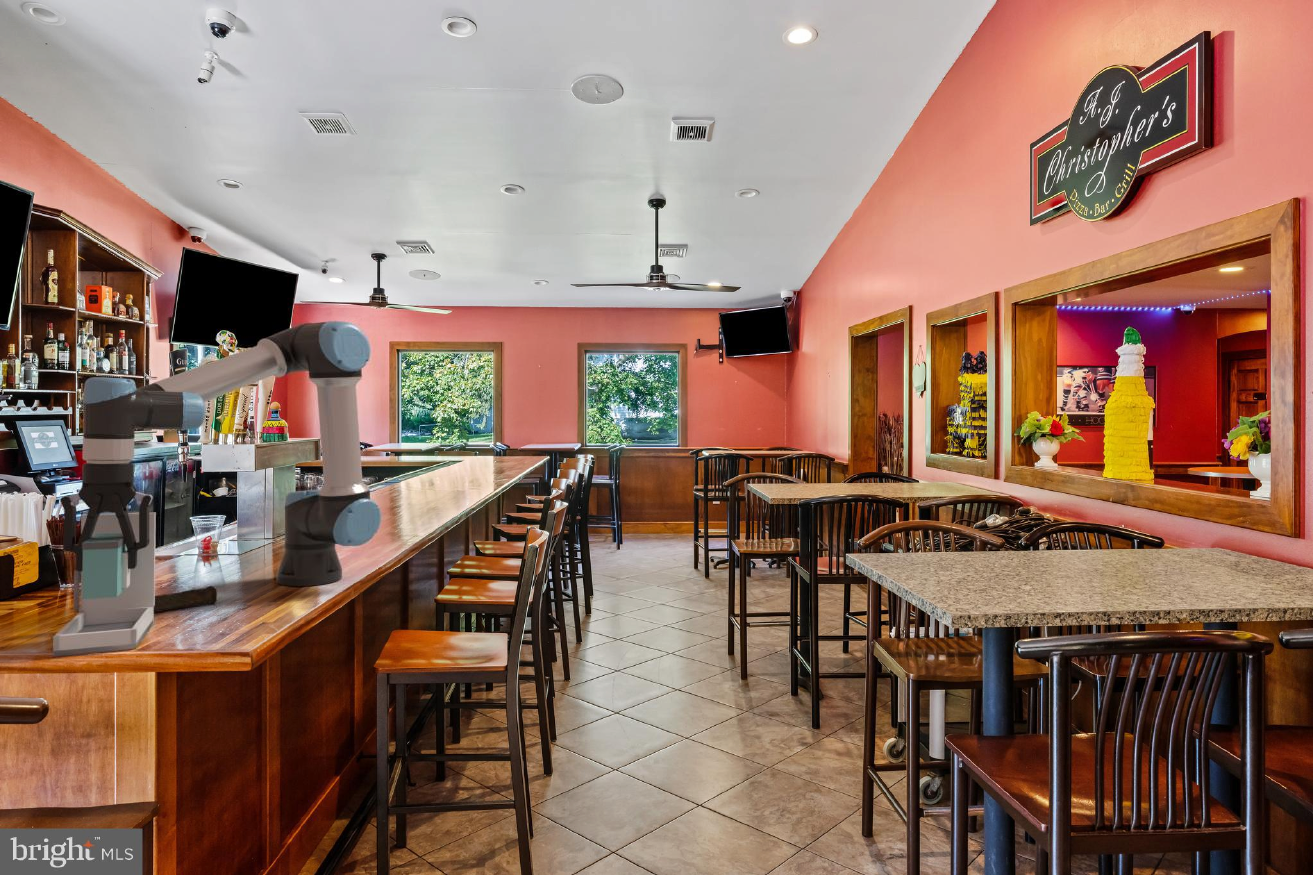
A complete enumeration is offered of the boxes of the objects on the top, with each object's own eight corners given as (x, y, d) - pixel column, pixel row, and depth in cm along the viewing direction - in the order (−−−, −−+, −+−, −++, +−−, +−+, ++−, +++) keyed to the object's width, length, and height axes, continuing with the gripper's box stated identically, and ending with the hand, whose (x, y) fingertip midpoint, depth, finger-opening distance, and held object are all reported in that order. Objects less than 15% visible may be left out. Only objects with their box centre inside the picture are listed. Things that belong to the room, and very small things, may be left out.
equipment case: (154, 622, 142) (155, 512, 142) (136, 648, 127) (137, 525, 126) (76, 628, 137) (76, 514, 136) (46, 657, 121) (47, 528, 121)
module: (130, 584, 137) (130, 532, 137) (117, 597, 128) (118, 541, 128) (96, 586, 135) (97, 534, 134) (81, 599, 125) (82, 543, 125)
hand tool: (211, 601, 159) (211, 581, 159) (218, 605, 157) (218, 584, 157) (107, 619, 145) (107, 596, 145) (113, 622, 142) (113, 599, 142)
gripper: (171, 460, 138) (169, 579, 139) (52, 460, 130) (50, 586, 131) (164, 463, 131) (162, 588, 132) (38, 462, 123) (37, 596, 124)
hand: (106, 587), depth 131 cm, fingers closed on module, 5 cm apart
